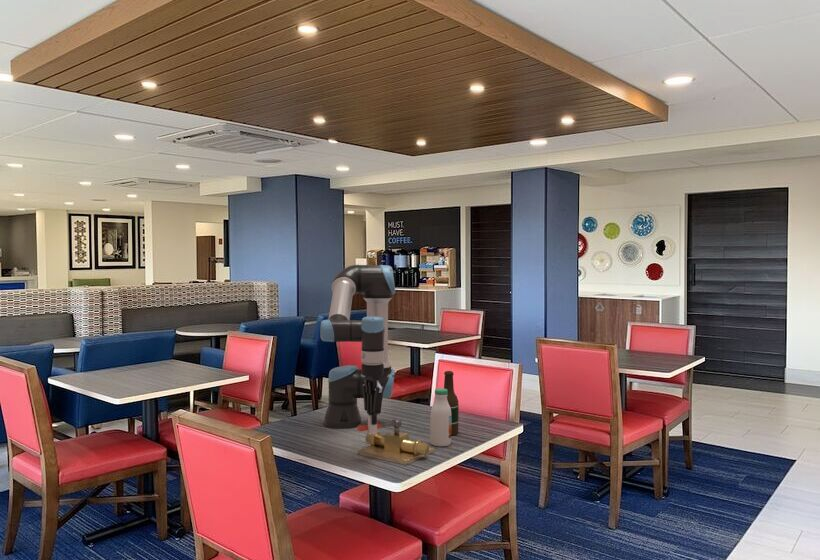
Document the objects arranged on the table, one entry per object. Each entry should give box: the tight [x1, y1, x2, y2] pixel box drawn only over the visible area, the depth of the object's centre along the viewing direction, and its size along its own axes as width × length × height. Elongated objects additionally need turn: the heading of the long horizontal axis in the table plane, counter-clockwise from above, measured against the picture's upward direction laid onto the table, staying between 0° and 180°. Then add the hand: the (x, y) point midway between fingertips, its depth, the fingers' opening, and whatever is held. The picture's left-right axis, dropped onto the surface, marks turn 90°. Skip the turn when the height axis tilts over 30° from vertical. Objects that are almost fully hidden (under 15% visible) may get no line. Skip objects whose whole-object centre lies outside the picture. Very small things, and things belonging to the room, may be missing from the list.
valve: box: [357, 426, 436, 466], centre depth 217 cm, size 24×18×10 cm
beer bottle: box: [443, 370, 459, 436], centre depth 242 cm, size 8×8×24 cm
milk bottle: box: [429, 387, 452, 447], centre depth 228 cm, size 8×8×20 cm
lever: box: [356, 418, 402, 432], centre depth 213 cm, size 17×3×2 cm, turn 123°
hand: (372, 433), depth 209 cm, fingers closed
